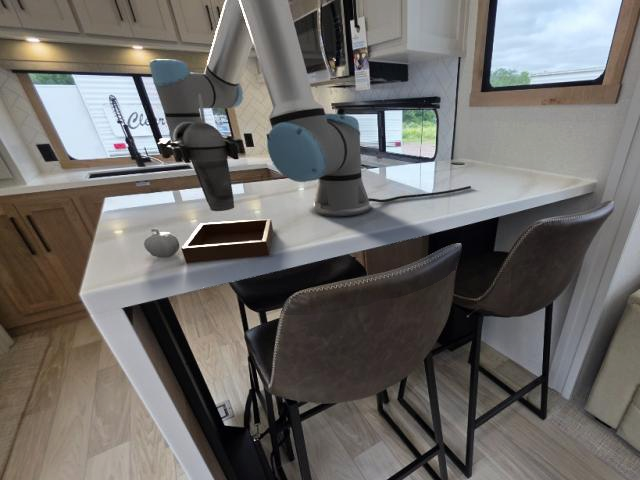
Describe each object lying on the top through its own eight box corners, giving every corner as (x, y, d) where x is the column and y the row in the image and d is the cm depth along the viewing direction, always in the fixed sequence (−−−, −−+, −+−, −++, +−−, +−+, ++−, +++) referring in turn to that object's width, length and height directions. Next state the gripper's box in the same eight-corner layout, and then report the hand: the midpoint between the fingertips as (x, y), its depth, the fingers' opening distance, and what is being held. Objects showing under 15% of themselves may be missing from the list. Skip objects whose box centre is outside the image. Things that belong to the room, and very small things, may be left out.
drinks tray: (273, 231, 76) (270, 218, 75) (269, 255, 64) (266, 241, 63) (204, 236, 73) (200, 223, 71) (186, 263, 61) (180, 248, 59)
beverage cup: (202, 205, 69) (169, 93, 59) (240, 201, 72) (214, 94, 62) (202, 215, 64) (165, 93, 53) (243, 210, 66) (215, 93, 56)
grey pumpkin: (148, 253, 65) (138, 228, 62) (180, 247, 67) (171, 222, 65) (151, 264, 60) (139, 237, 58) (184, 257, 63) (175, 231, 61)
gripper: (245, 156, 82) (272, 169, 65) (147, 162, 72) (151, 181, 56) (237, 121, 78) (264, 127, 62) (133, 123, 68) (133, 131, 52)
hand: (211, 152), depth 59 cm, fingers closed on beverage cup, 7 cm apart
